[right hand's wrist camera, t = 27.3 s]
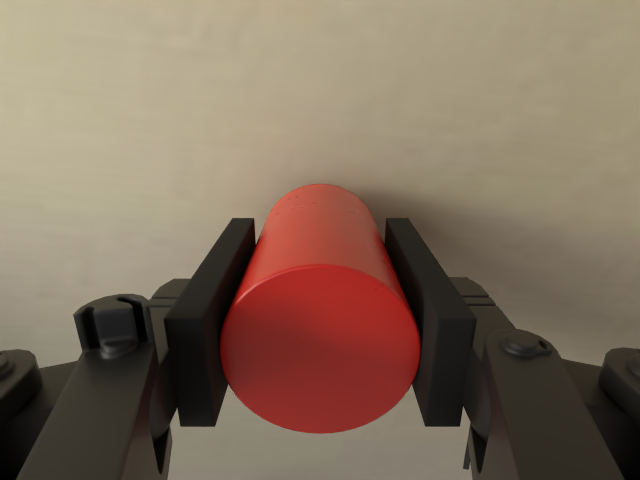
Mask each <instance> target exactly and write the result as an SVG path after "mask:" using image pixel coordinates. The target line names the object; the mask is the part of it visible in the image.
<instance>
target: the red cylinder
mask: <svg viewBox="0 0 640 480" xmlns="http://www.w3.org/2000/svg"><path fill="white" fill-rule="evenodd" d="M219 353H220V361H221V366H222V369H223V372H224V375H225V378H226V380H227V382H228V384H229V386H230V388H231V389H232V390H233V392H234V393H235V395H236V396H237V397H238V398H239V399H240V401H241V402H242V403H243V404H244V405H245V406H246V407H248V408H249V409H250V410H251V411H252V412H254V413H255V414H257V415H258V416H260V417H261V418H263V419H265V420H267V421H269V422H271V423H273V424H275V425H278V426H280V427H283V428H286V429H290V430H294V431H299V432H306V433H335V432H341V431H346V430H350V429H354V428H357V427H360V426H363V425H365V424H368V423H370V422H372V421H374V420H376V419H377V418H379V417H381V416H382V415H384V414H385V413H387V412H388V411H389V410H390V409H392V408H393V407H394V406H395V405H396V404H397V403H398V402H399V401H400V400H401V399H402V398H403V397H404V395H405V394H406V392H407V391H408V390H409V388H410V386H411V384H412V383H413V381H414V379H415V376H416V373H417V371H418V368H419V363H420V357H421V339H420V332H419V329H418V326H417V322H416V320H415V317H414V315H413V313H412V310H411V308H410V305H409V303H408V301H407V298H406V296H405V293H404V291H403V288H402V286H401V284H400V281H399V279H398V276H397V274H396V272H395V269H394V267H393V264H392V262H391V260H390V257H389V255H388V252H387V250H386V247H385V245H384V243H383V240H382V238H381V235H380V233H379V231H378V228H377V226H376V223H375V221H374V219H373V216H372V214H371V212H370V211H369V209H368V208H367V206H366V205H365V204H364V203H363V202H362V201H361V200H360V199H359V198H358V197H357V196H355V195H354V194H352V193H351V192H349V191H347V190H345V189H343V188H340V187H337V186H333V185H328V184H312V185H307V186H303V187H300V188H297V189H295V190H293V191H291V192H290V193H288V194H287V195H285V196H284V197H283V198H281V199H280V200H279V201H278V202H277V203H276V205H275V206H274V207H273V208H272V210H271V212H270V213H269V215H268V218H267V220H266V222H265V225H264V227H263V229H262V232H261V234H260V237H259V239H258V241H257V244H256V246H255V249H254V251H253V253H252V256H251V258H250V261H249V263H248V265H247V268H246V270H245V273H244V275H243V277H242V280H241V282H240V285H239V287H238V289H237V292H236V294H235V297H234V299H233V301H232V304H231V306H230V309H229V311H228V313H227V316H226V318H225V321H224V323H223V327H222V330H221V334H220V341H219Z"/></svg>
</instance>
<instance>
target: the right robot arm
mask: <svg viewBox="0 0 640 480" xmlns="http://www.w3.org/2000/svg"><path fill="white" fill-rule="evenodd" d="M255 246H256V241H255V225H254V218H232V220H231V221H230V223H229V224H228V226H227V227H226V228H225V230H224V231H223V233H222V234H221V236H220V237H219V239H218V240H217V242H216V243H215V244H214V246H213V247H212V249H211V250H210V252H209V253H208V255H207V256H206V258H205V259H204V261H203V262H202V263H201V265H200V266H199V268H198V269H197V271H196V272H195V274H194V275H193V277H192V278H191V279H173V280H171V281H169V282H168V283H166V284H164V285H163V286H161V287H160V288H159V289H158V290H157V291H156V292H155V294H154V295H153V296H152V299H150V300H149V301H148V300H147V299H146V298H144V297H143V296H140V295H135V294H118V295H112V296H107V297H103V298H100V299H97V300H94V301H92V302H90V303H88V304H86V305H84V306H82V307H81V308H80V309H79V310H78V311H76V312H75V313H74V314H73V316H74V319H75V323H76V327H77V331H78V335H79V339H80V343H81V347H82V351H83V352H82V354H81V356H80V358H79V360H78V361H75V362H71V363H65V364H60V365H55V366H50V367H45V368H39V367H38V364H37V360H36V357H35V355H34V354H32V353H31V352H30V351H26V350H19V349H17V350H7V351H0V480H167V479H168V471H169V463H170V456H171V448H172V435H171V429H170V422H171V420H172V418H173V416H174V413H175V411H176V409H177V407H178V414H179V420H180V426H181V427H215V425H216V422H217V419H218V415H219V412H220V409H221V406H222V403H223V399H224V396H225V393H226V390H227V387H228V382H227V380H226V378H225V375H224V372H223V369H222V366H221V361H220V353H219V341H220V334H221V330H222V327H223V323H224V321H225V318H226V316H227V313H228V311H229V309H230V306H231V304H232V301H233V299H234V297H235V294H236V292H237V289H238V287H239V285H240V282H241V280H242V277H243V275H244V273H245V270H246V268H247V265H248V263H249V261H250V258H251V256H252V253H253V251H254V249H255ZM385 247H386V250H387V252H388V255H389V257H390V260H391V262H392V264H393V267H394V269H395V272H396V274H397V276H398V279H399V281H400V284H401V286H402V288H403V291H404V293H405V296H406V298H407V301H408V303H409V305H410V308H411V310H412V313H413V315H414V317H415V320H416V322H417V326H418V329H419V332H420V339H421V357H420V363H419V368H418V371H417V373H416V376H415V379H414V381H413V383H412V386H413V389H414V392H415V395H416V398H417V402H418V405H419V408H420V411H421V414H422V418H423V421H424V424H425V426H433V427H460V422H461V416H462V409H463V406H464V408H465V411H466V413H467V415H468V417H469V419H470V422H471V423H470V429H469V435H468V441H467V447H466V452H465V458H464V465H463V469H468V470H469V464H470V463H471V470H472V478H473V480H640V349H632V348H616V349H611V350H610V351H609V352H608V353H606V355H605V358H604V362H603V365H602V367H600V366H595V365H590V364H584V363H579V362H574V361H569V360H565V359H561V357H560V355H559V353H558V351H557V350H556V349H555V348H554V347H553V345H552V344H551V343H550V342H548V341H546V340H545V339H543V338H542V337H540V336H538V335H536V334H533V333H531V332H528V331H524V330H520V329H516V328H515V327H514V326H513V324H512V323H511V322H510V321H509V320H508V318H507V317H506V316H505V315H504V313H503V312H502V311H501V310H500V309H499V307H498V306H496V304H495V303H494V301H493V300H492V299H491V298H489V295H488V294H487V293H486V292H485V290H484V289H483V288H482V287H481V286H480V285H478V284H477V283H475V282H473V281H472V280H470V279H468V278H467V277H448V276H447V275H446V273H445V272H444V270H443V269H442V267H441V266H440V264H439V263H438V262H437V260H436V259H435V257H434V256H433V254H432V253H431V251H430V250H429V248H428V247H427V245H426V244H425V243H424V241H423V240H422V238H421V237H420V235H419V234H418V232H417V231H416V229H415V228H414V227H413V225H412V224H411V222H410V221H409V219H408V218H386V230H385Z"/></svg>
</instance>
